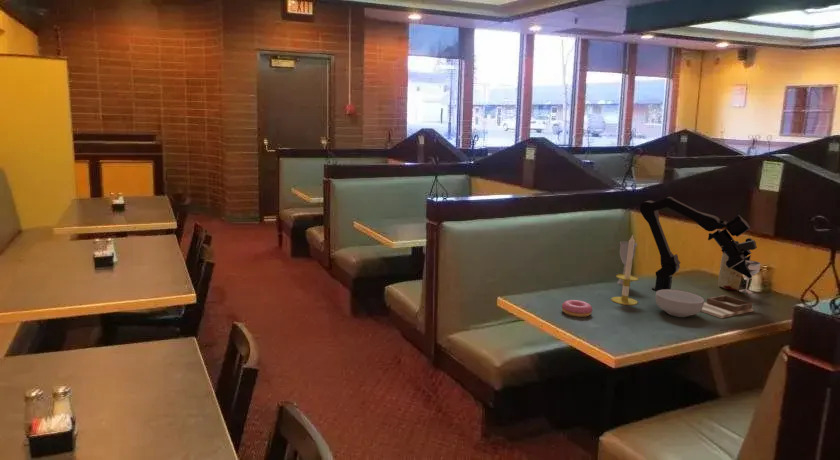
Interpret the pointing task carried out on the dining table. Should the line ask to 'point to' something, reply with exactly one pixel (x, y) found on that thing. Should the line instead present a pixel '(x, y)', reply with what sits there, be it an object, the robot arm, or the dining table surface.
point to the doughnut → (577, 308)
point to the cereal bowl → (679, 302)
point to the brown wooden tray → (726, 306)
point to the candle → (627, 278)
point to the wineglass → (753, 269)
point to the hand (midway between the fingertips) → (752, 276)
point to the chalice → (624, 256)
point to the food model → (728, 275)
